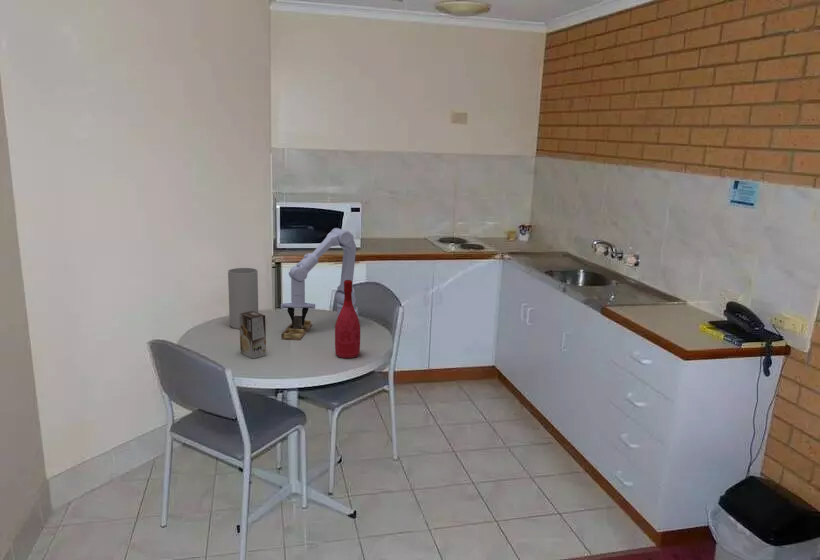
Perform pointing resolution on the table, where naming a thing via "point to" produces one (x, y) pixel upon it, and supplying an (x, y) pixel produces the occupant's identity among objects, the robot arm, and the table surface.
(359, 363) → the table surface
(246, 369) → the table surface
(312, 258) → the robot arm
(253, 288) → the cylinder vase
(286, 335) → the rack
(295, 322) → the black box
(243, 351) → the coffee box
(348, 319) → the wine bottle
